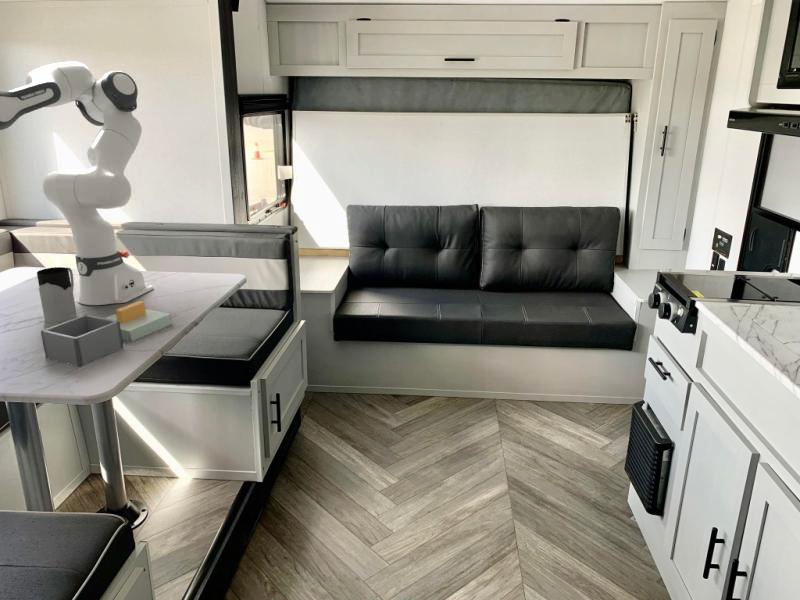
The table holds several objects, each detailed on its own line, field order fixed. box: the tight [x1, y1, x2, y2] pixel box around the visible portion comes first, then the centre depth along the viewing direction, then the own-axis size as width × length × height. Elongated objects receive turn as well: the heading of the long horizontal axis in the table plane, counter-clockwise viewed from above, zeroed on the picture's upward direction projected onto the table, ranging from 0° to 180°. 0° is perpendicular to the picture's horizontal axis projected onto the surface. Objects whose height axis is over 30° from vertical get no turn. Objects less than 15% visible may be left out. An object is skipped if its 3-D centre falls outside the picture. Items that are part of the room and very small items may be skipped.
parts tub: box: [40, 314, 124, 368], centre depth 152 cm, size 13×12×7 cm
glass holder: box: [36, 266, 79, 329], centre depth 172 cm, size 9×14×15 cm, turn 2°
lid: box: [104, 300, 173, 343], centre depth 167 cm, size 14×13×6 cm
